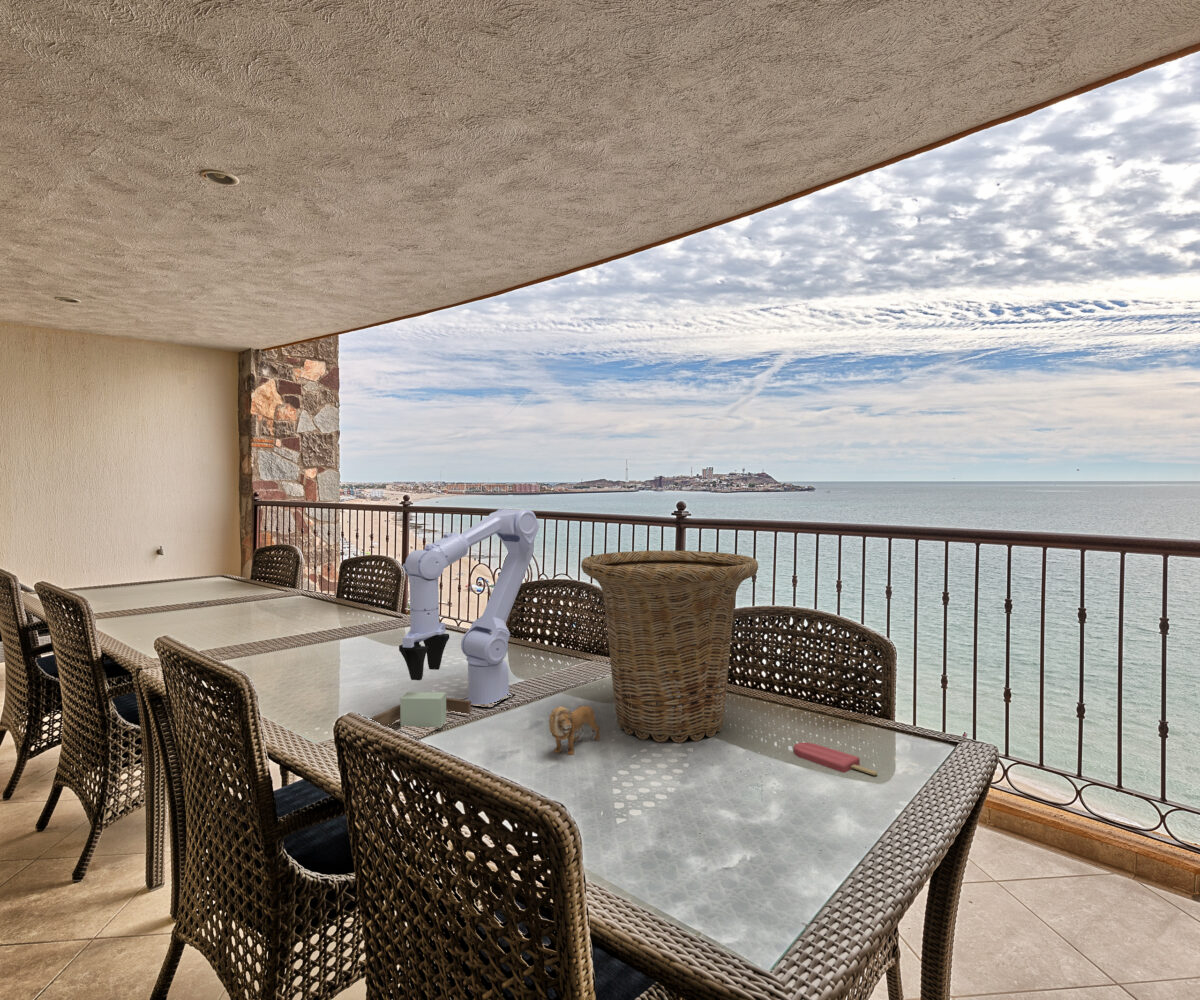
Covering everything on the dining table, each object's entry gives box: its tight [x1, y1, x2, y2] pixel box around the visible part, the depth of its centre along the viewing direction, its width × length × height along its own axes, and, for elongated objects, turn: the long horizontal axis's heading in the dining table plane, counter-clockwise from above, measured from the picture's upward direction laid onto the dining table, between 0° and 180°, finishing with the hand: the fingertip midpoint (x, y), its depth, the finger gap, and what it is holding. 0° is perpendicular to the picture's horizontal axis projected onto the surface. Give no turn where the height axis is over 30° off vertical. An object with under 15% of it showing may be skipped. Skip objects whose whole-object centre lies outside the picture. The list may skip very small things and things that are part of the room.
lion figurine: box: [548, 705, 601, 756], centre depth 121 cm, size 15×5×9 cm, turn 153°
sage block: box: [399, 691, 447, 728], centre depth 132 cm, size 4×8×6 cm, turn 88°
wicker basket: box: [580, 550, 759, 744], centre depth 133 cm, size 35×35×33 cm
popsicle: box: [793, 742, 878, 776], centre depth 114 cm, size 5×2×15 cm
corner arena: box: [369, 697, 472, 740], centre depth 134 cm, size 16×12×3 cm
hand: (425, 674), depth 136 cm, fingers open, 7 cm apart
